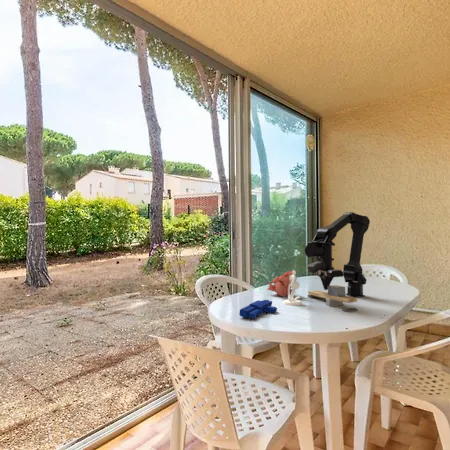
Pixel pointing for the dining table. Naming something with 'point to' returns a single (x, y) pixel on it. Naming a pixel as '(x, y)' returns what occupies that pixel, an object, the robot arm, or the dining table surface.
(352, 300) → the beam
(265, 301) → the toy gun
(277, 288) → the anatomical model
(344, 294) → the block
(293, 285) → the figurine
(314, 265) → the robot arm
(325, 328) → the dining table surface
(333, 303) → the stand
